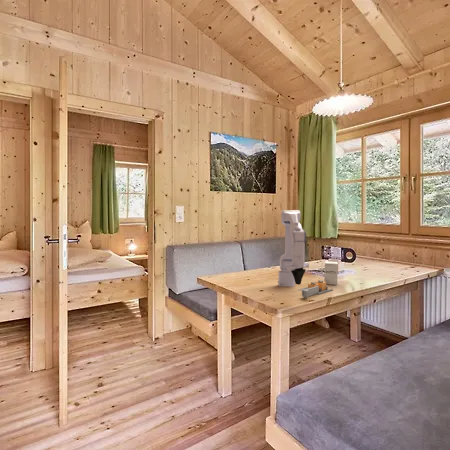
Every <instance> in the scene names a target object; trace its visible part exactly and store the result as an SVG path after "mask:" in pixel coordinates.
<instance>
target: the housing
mask: <svg viewBox="0 0 450 450" xmlns="http://www.w3.org/2000/svg"><path fill="white" fill-rule="evenodd" d="M305 289H308V286H307V287H303V288H299V289H298V291H300V292H302V290H305ZM333 291H334V289H333V288H331V289H329V288H328V286H327V285H326V290H323V291H322V288H319V293H317V294H315V295H316V296H320V295H324V294H326V293H330V292H333Z"/></svg>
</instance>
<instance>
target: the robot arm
mask: <svg viewBox="0 0 450 450" xmlns="http://www.w3.org/2000/svg"><path fill="white" fill-rule="evenodd" d="M301 214H302V213H301V211H300V210H299V209H292V210H290V209H289V210H287V209H286V210H285V209H282V211H281V213H280V221H281V223H280V224H281V225H283V226H284V228H285V229H284V241H285V242H284V253H283V254H282V255H281V256H280V257H279V270H278V279H277V280H278V281H277V283H278V285H277V286H278V287H288V288H289V287H290V288H293V287H295V286H296V285H298V286H299V285H301V284H302V280H303V278H304V274H305V273H306V268H309V267H310V263H309V262H308V263H307V262H305V256H306V255H305V253H306V251H305V248H306V247H305V246H306V245H305V243H306V241H307V231H306V230H304V229H303V226H302V224H301V223H300V221H301Z"/></svg>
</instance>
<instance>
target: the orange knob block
mask: <svg viewBox="0 0 450 450" xmlns="http://www.w3.org/2000/svg"><path fill="white" fill-rule="evenodd" d="M315 283H316V284H319V288H322V291H323V290H326V286H327V284H326V282H324V280H317V281H315Z"/></svg>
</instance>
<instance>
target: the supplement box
mask: <svg viewBox="0 0 450 450" xmlns="http://www.w3.org/2000/svg"><path fill="white" fill-rule="evenodd" d="M338 266H339V261H324V274H323V275H324V279H323V282H326V285H331V286H332V285H335V286H337V285H338V271H339V270H338V268H339V267H338Z"/></svg>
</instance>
